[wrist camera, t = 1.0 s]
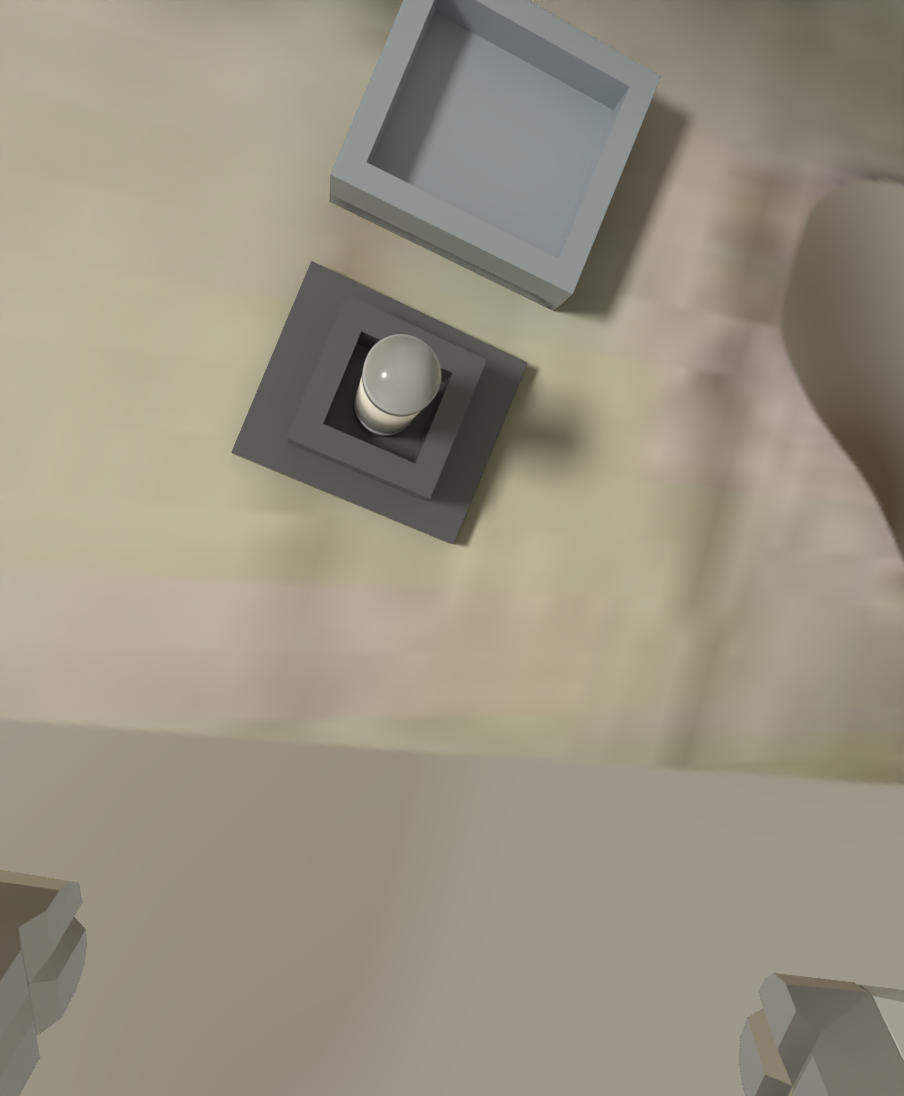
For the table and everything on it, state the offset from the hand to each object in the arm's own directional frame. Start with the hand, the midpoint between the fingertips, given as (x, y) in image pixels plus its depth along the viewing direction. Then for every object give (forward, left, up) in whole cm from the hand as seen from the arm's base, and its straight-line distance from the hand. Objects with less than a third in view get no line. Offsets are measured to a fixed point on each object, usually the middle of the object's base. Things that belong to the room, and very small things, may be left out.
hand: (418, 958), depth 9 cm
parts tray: (-2, +29, -37) cm, 47 cm away
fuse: (-2, +12, -36) cm, 38 cm away
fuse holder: (-2, +12, -37) cm, 39 cm away
